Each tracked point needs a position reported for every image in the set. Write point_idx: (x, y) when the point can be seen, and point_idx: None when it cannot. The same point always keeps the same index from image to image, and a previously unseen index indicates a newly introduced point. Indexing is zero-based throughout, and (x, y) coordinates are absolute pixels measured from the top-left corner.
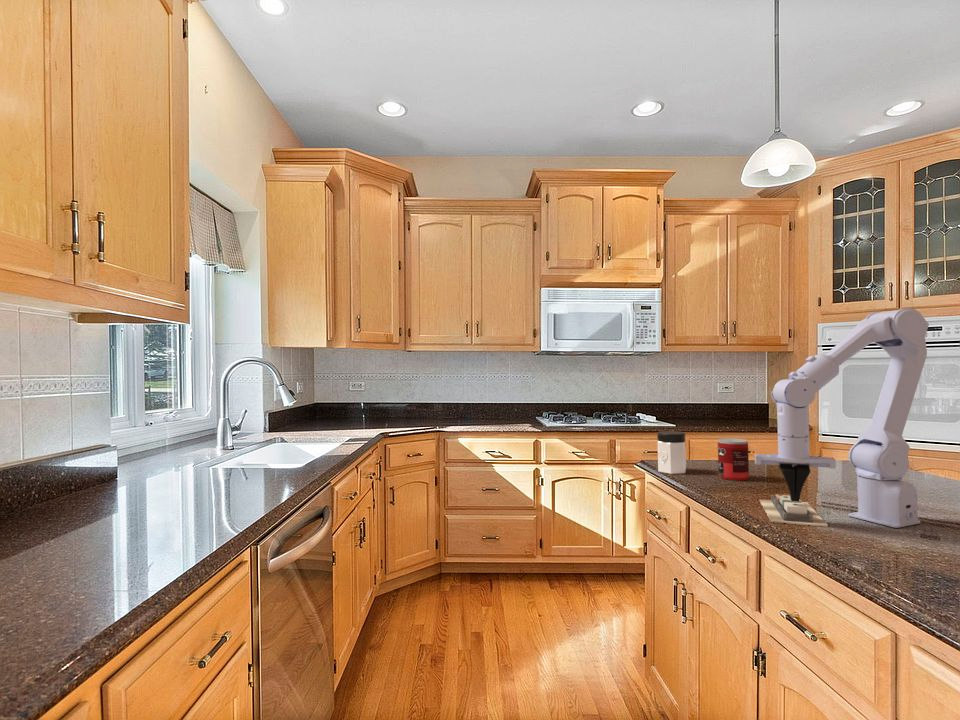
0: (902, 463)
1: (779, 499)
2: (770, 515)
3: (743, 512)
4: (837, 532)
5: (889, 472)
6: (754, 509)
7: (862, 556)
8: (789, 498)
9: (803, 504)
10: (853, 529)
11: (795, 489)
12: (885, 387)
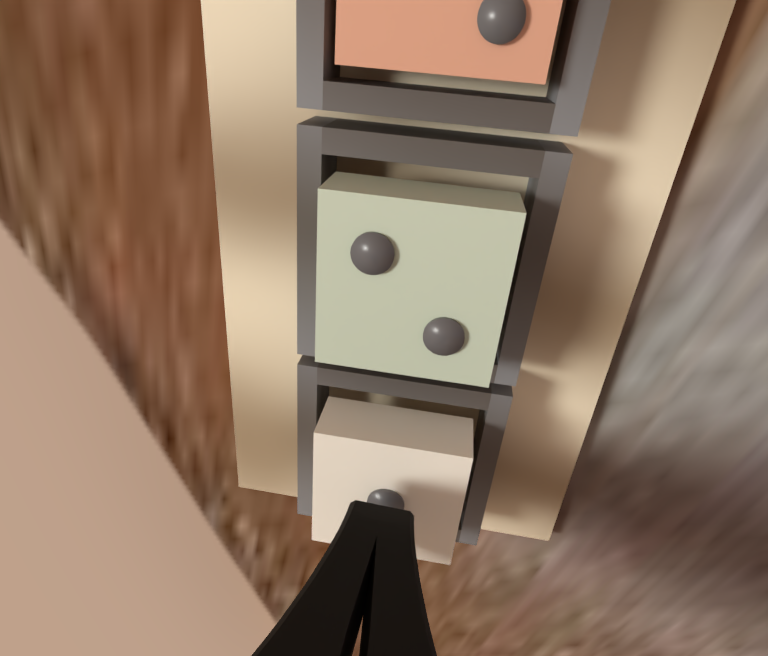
0: None
1: (354, 63)
2: (244, 387)
3: (75, 279)
4: (552, 595)
5: None
6: (145, 170)
7: None
8: (401, 301)
9: (458, 493)
10: (686, 556)
11: (361, 652)
12: None
